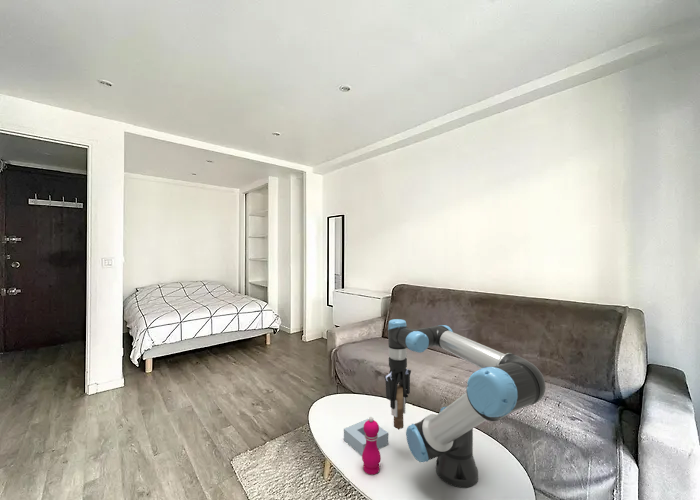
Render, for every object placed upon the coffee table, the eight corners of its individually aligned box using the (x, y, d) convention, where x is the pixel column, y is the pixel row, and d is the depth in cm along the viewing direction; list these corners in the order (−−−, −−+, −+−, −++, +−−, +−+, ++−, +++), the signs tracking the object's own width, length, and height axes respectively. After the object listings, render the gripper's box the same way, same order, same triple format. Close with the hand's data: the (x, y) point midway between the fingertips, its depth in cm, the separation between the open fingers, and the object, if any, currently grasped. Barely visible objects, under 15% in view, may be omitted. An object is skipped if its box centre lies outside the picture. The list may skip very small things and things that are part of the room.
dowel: (405, 428, 126) (404, 387, 127) (398, 431, 124) (398, 390, 124) (398, 423, 130) (398, 384, 130) (391, 427, 127) (391, 386, 127)
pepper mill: (365, 477, 114) (365, 423, 114) (359, 464, 121) (359, 413, 121) (383, 473, 116) (383, 420, 116) (376, 461, 123) (376, 411, 123)
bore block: (388, 444, 133) (388, 432, 133) (363, 456, 125) (363, 444, 125) (368, 429, 145) (368, 418, 145) (343, 440, 136) (343, 428, 136)
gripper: (405, 351, 135) (406, 404, 135) (376, 359, 125) (377, 416, 125) (418, 355, 129) (419, 411, 129) (388, 364, 119) (389, 424, 119)
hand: (398, 413), depth 127 cm, fingers closed on dowel, 4 cm apart
